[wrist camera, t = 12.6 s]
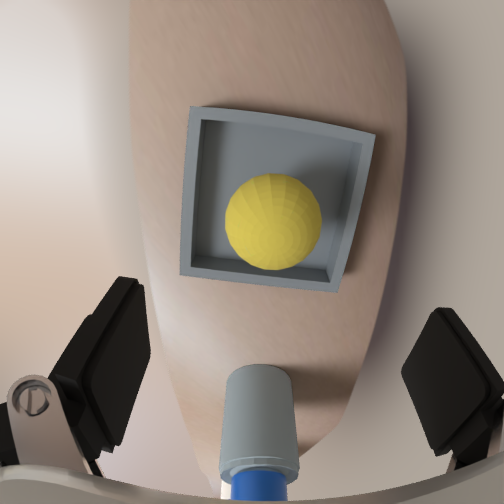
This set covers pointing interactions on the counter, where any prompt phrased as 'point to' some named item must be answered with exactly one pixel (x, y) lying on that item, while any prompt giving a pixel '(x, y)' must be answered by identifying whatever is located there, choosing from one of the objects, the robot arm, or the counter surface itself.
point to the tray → (259, 163)
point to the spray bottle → (259, 434)
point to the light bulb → (273, 221)
